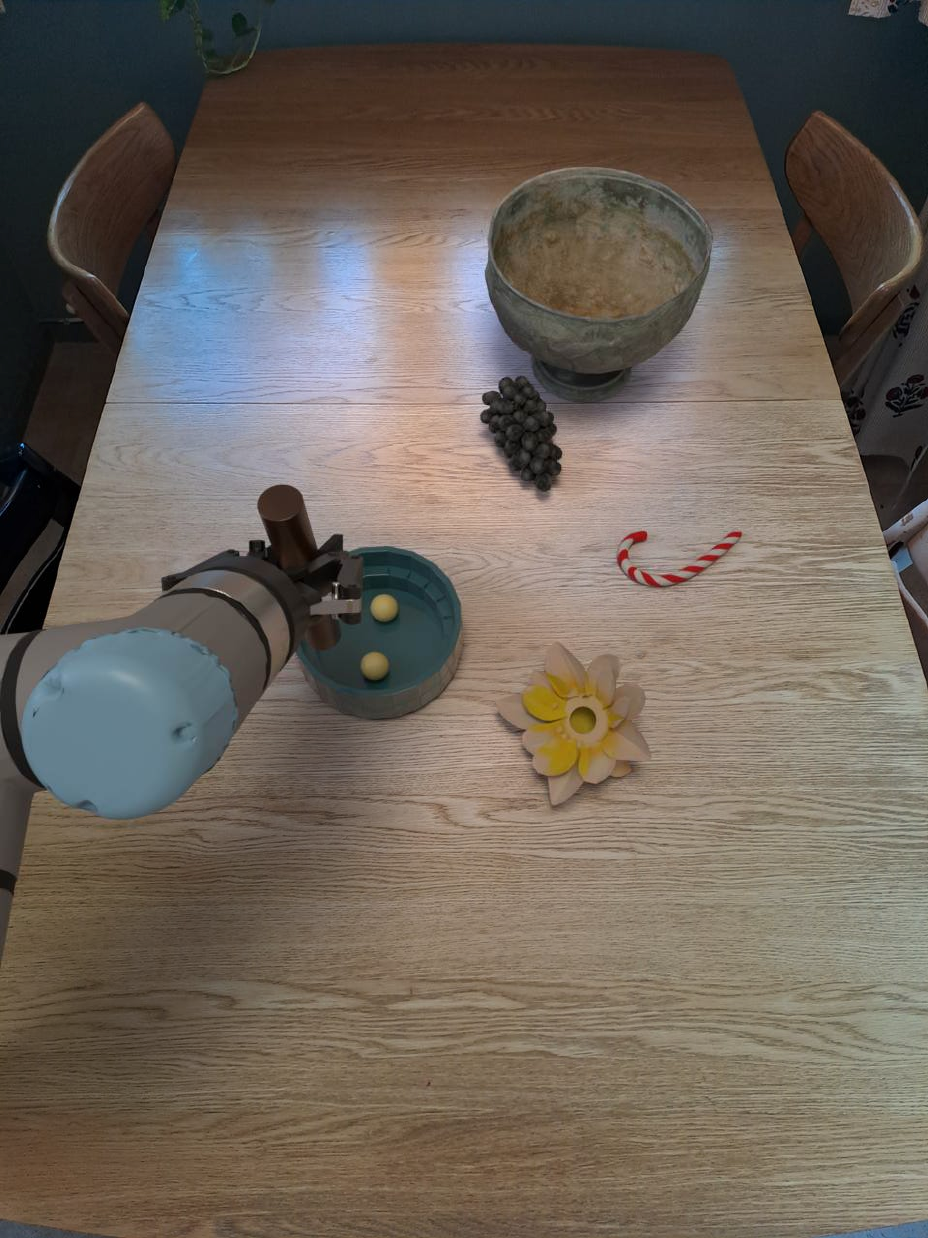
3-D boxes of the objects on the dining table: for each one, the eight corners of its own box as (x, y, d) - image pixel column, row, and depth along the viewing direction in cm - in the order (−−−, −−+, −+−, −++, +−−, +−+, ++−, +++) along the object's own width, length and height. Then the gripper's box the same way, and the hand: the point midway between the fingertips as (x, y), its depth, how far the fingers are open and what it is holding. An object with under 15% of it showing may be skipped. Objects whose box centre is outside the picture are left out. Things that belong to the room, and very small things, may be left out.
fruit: (570, 451, 92) (528, 353, 99) (501, 481, 94) (464, 382, 100) (584, 489, 100) (544, 396, 107) (520, 517, 101) (485, 423, 108)
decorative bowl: (653, 466, 102) (689, 333, 85) (454, 417, 107) (451, 282, 89) (694, 326, 115) (732, 186, 98) (515, 288, 119) (522, 148, 102)
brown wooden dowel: (319, 657, 75) (272, 529, 57) (299, 632, 76) (248, 499, 58) (348, 637, 76) (312, 505, 58) (328, 613, 77) (286, 476, 59)
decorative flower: (477, 681, 87) (505, 636, 79) (570, 656, 91) (605, 612, 83) (533, 817, 81) (569, 785, 73) (629, 784, 86) (674, 751, 77)
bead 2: (373, 690, 88) (370, 678, 85) (356, 670, 89) (352, 658, 86) (395, 674, 89) (393, 661, 86) (379, 654, 90) (376, 641, 87)
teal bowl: (363, 753, 85) (356, 730, 80) (270, 636, 92) (257, 607, 86) (494, 656, 91) (496, 628, 85) (397, 551, 97) (392, 518, 91)
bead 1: (382, 631, 91) (380, 618, 88) (366, 612, 92) (363, 599, 90) (404, 616, 92) (402, 602, 89) (388, 598, 93) (386, 584, 90)
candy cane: (757, 551, 95) (639, 593, 93) (753, 557, 96) (637, 599, 94) (722, 499, 99) (608, 539, 96) (719, 506, 100) (606, 545, 97)
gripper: (93, 686, 49) (222, 587, 72) (368, 700, 49) (411, 596, 71) (82, 561, 47) (218, 500, 70) (369, 575, 47) (412, 508, 69)
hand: (315, 549), depth 70 cm, fingers closed on brown wooden dowel, 3 cm apart
